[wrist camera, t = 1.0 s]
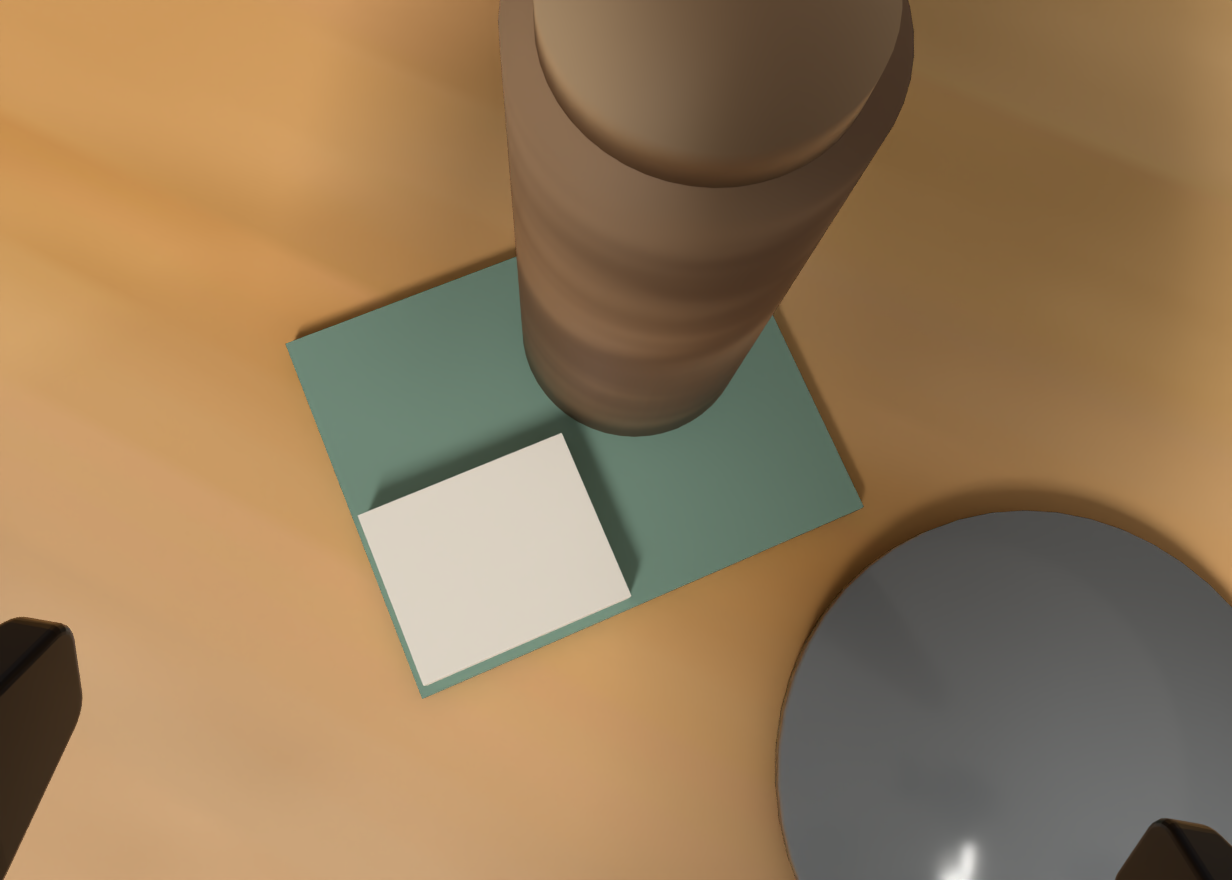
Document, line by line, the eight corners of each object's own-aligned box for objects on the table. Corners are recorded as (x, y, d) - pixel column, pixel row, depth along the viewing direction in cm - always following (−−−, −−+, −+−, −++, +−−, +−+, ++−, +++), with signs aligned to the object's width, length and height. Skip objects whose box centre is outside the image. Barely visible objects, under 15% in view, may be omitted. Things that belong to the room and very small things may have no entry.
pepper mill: (573, 470, 22) (602, 256, 11) (488, 271, 23) (427, -133, 11) (777, 387, 23) (1015, 98, 11) (687, 196, 24) (822, -259, 12)
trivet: (921, 1170, 20) (932, 1185, 20) (688, 635, 22) (692, 635, 22) (1388, 920, 22) (1411, 927, 21) (1134, 439, 24) (1149, 433, 23)
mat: (424, 697, 22) (417, 700, 20) (290, 349, 23) (275, 332, 22) (858, 509, 23) (875, 501, 22) (707, 191, 24) (715, 166, 23)
